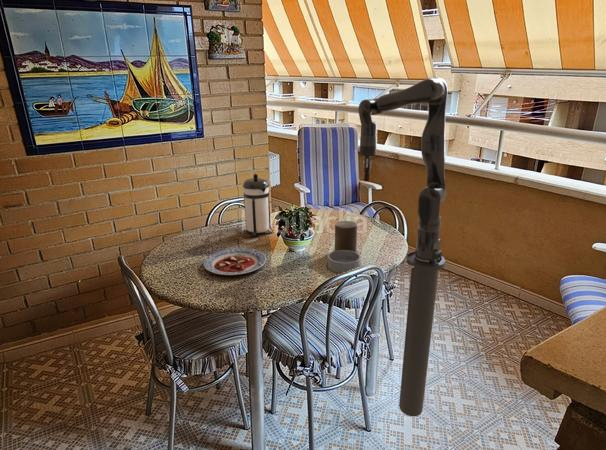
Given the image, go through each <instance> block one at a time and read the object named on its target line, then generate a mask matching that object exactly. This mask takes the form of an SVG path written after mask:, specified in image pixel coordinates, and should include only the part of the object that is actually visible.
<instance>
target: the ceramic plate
mask: <svg viewBox="0 0 606 450" xmlns="http://www.w3.org/2000/svg"><path fill="white" fill-rule="evenodd" d="M266 262H267V256H266V255H265V254H264V253H263V252H261V251H259V250H256V249H253V248H245V247H244V248H242V247H241V248H240V247H238V248H235V247H234V248H228V249H227V248H226V249H223V250H219V251H217V252H214V253H212V254H210V255H209V256H207V257H206V258H205V259H204V261H203V267H204V269H206V270H207V271H208V272H210V273H212V274H215V275H221V276H238V275H244V274H249V273H251V272H255V271H257V270H259V269H260V268H262V267H263V266H264V265H265V264H266Z"/></svg>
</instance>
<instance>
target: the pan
mask: <svg viewBox="0 0 606 450" xmlns="http://www.w3.org/2000/svg"><path fill="white" fill-rule="evenodd" d="M361 261H362V260H361V255H360V254H359V253H358V252H357V251H356V252H354V251H349V250H337V251H335V250H333V251H330V252H329V253H328V254H327V267H328V269H329V270H330V271H331V272H334V273H337V274H344V273H343V272H347V271H349V270H352V269H355V268H357V267H360V268H361Z"/></svg>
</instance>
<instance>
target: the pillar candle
mask: <svg viewBox="0 0 606 450" xmlns="http://www.w3.org/2000/svg"><path fill="white" fill-rule="evenodd" d="M357 240H358V223H357V222H355V221H353V220H352V221H351V220H338V221H336V222H335V223H334V251H337V250H349V251H354V252H356V253H357V245H358V244H357V243H358V241H357Z"/></svg>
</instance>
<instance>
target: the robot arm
mask: <svg viewBox="0 0 606 450" xmlns="http://www.w3.org/2000/svg"><path fill="white" fill-rule="evenodd" d="M448 89H449V88H448V84H447V82H446V81H445V80H444V79H443V78H441V77H431V78H430V77H428V78H424V79H423V80H421V81H419V82H418V83H415V84H413V85H411V86H409V87H406V88H404V89H400V90H396V91H393V92H389V93H385V94H382V95H380V96H379V97H377V98H369V99H368V98H365V99H363V100H361V101H360V103H359V105H358V108H357V109H358V116H359V121H360V125H361V126H360V138H359V155H360V156H364V157H363V159H362V163H363V165H362V166H363V167H362V168H363V175H364V178H363V179H364V180H363V181H364V182H370V173H371V168H372V163H373V158H372V156H376V154H377V144H378V143H377V140H378V139H377V137H378V136H377V130H378V129H377V128H378V124H377V121H375V120H373V118H372V116H377V115H380V114H383V113H385V112H390V111H394V110H397V109H400V108H403V107H405V106H408V105H412V104H427V105H428V107H427V108H428V112H427V113H428V115H427V119H426V122H425V125H424V127H423V130H422V134H421V138H420V139H421V140H420V143H421V144H420V145H421V146H420V147H421V148H420V149H421V150H420V151H421V157H422V160H423V163H424V166H425V171H426V186H425V187H423V188H422V189H420V192H419V194H418V200H417V217H418V221H417V222H418V223H417V232H416V233H417V234H416V243H415V244H416V245H415V250H414V252H416V253H415V259H416V260H418V261H420V262H424V263H431V264H432V263H434V262H436V261H437V260H438V261H437V263H439V262H440V261H441V260H442V257H443V250H441V243H442V239H440V235H441V227H442V216H441V215H440V209H441V204H442V203H444V202H445V201H446V198H447V187H446V177H445V164H446V111H447V110H446V109H447V102H448V101H447V100H448V93H449V92H448V91H449V90H448ZM441 256H442V257H441ZM439 258H440V259H439Z"/></svg>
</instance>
